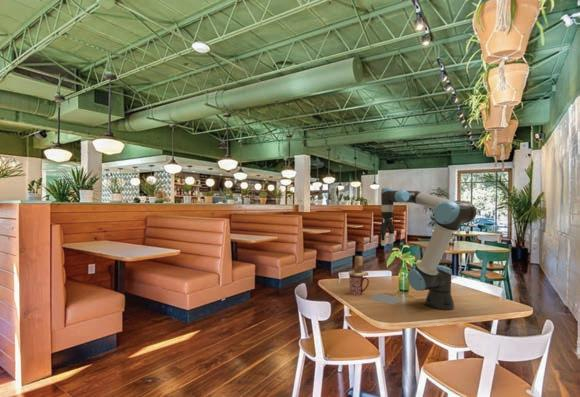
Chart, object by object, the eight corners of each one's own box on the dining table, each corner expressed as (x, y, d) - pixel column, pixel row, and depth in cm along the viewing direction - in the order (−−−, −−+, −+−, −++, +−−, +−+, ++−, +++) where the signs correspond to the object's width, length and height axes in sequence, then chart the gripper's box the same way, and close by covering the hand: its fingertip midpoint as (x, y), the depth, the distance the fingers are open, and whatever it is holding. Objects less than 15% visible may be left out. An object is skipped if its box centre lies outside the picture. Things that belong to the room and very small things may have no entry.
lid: (371, 273, 205) (371, 256, 205) (363, 277, 195) (363, 258, 195) (354, 270, 212) (354, 254, 212) (345, 273, 203) (345, 256, 203)
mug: (346, 295, 202) (347, 274, 202) (350, 292, 210) (351, 271, 210) (366, 298, 196) (367, 276, 196) (370, 295, 204) (370, 273, 204)
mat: (403, 299, 196) (403, 298, 196) (393, 305, 184) (393, 304, 184) (378, 294, 206) (378, 293, 206) (368, 299, 194) (368, 298, 194)
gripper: (388, 211, 220) (387, 242, 219) (374, 211, 200) (374, 245, 199) (399, 211, 216) (398, 243, 215) (386, 211, 195) (386, 246, 195)
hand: (387, 244), depth 207 cm, fingers open, 13 cm apart
